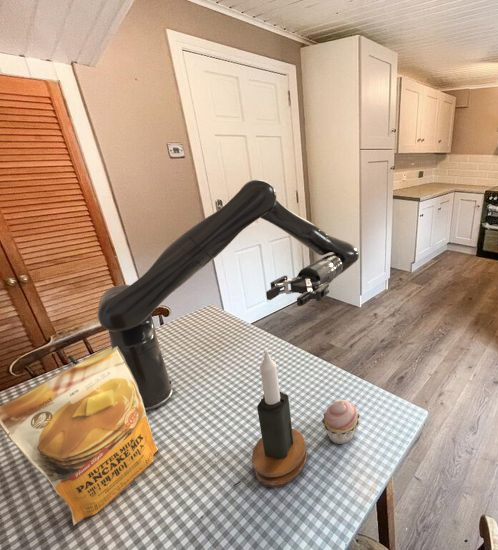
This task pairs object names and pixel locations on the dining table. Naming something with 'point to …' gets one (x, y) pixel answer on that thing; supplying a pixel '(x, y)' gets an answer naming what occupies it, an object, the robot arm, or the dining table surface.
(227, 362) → the dining table surface
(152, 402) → the robot arm
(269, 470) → the coaster pile
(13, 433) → the pancake mix bag
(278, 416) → the candle
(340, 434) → the cupcake
